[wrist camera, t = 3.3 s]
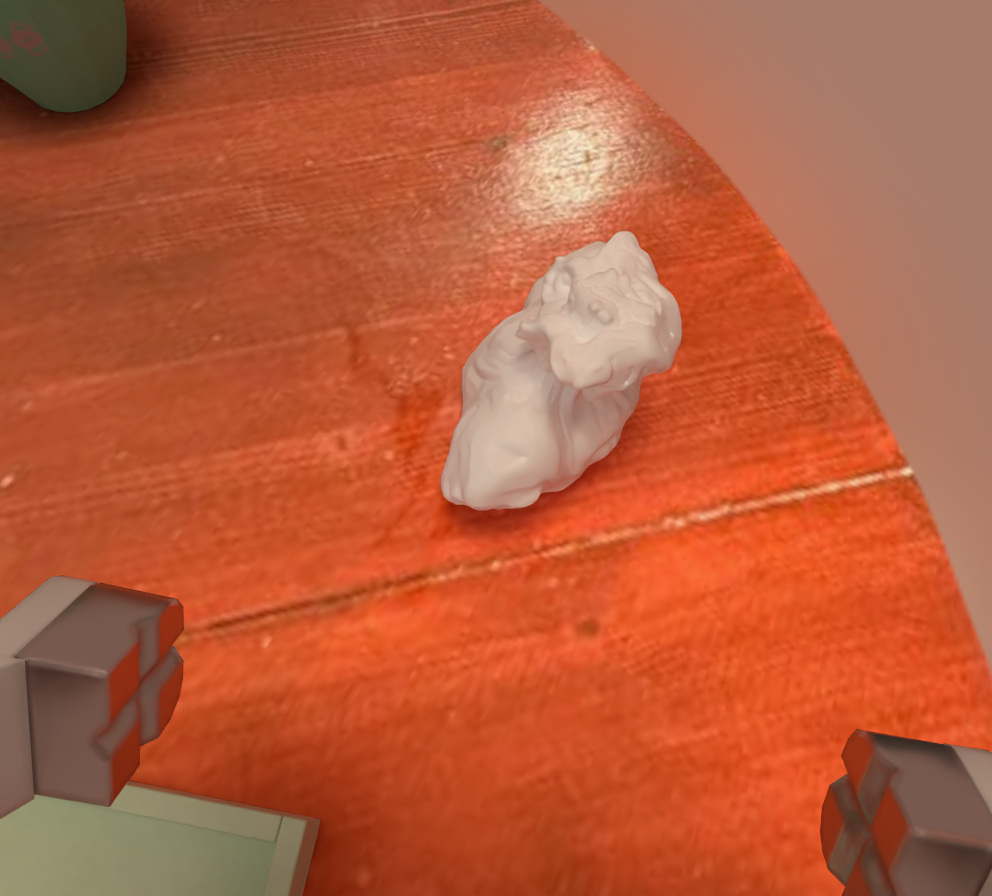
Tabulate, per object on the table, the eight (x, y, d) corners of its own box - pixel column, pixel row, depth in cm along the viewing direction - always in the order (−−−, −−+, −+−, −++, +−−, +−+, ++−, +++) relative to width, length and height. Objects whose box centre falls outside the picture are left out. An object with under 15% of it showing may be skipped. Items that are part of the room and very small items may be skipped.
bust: (484, 562, 34) (695, 581, 25) (339, 459, 31) (523, 438, 22) (597, 334, 39) (812, 279, 30) (481, 222, 35) (684, 121, 26)
